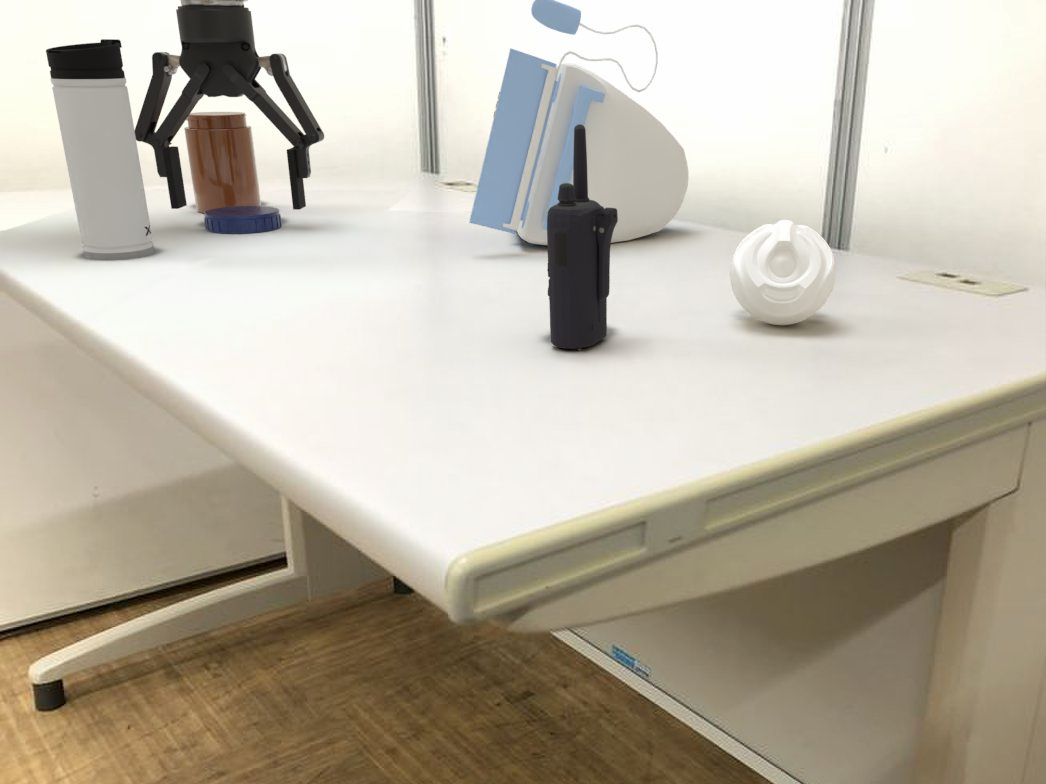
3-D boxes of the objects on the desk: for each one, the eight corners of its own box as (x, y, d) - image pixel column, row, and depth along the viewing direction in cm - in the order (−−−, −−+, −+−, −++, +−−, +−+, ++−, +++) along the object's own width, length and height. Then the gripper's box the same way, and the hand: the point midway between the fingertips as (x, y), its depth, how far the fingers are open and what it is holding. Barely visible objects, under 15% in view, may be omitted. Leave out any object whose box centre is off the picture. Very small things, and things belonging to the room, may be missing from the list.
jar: (187, 214, 131) (172, 115, 126) (208, 205, 138) (195, 111, 134) (251, 214, 131) (238, 115, 127) (269, 205, 138) (257, 111, 134)
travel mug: (172, 257, 105) (137, 39, 98) (112, 268, 100) (70, 39, 92) (132, 250, 108) (95, 39, 101) (71, 261, 103) (28, 38, 95)
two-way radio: (574, 331, 80) (571, 121, 74) (629, 338, 78) (630, 124, 72) (541, 350, 75) (535, 127, 69) (599, 357, 73) (598, 129, 68)
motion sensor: (725, 333, 80) (729, 228, 77) (731, 309, 86) (735, 213, 84) (833, 337, 79) (841, 232, 76) (830, 313, 86) (837, 216, 83)
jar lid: (289, 222, 126) (287, 205, 125) (269, 233, 118) (267, 216, 118) (220, 222, 126) (217, 205, 125) (195, 233, 118) (193, 216, 117)
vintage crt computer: (526, -17, 99) (481, -12, 113) (468, 229, 105) (432, 205, 119) (753, 67, 110) (686, 62, 124) (688, 284, 116) (631, 256, 131)
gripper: (338, 7, 117) (356, 203, 125) (109, 3, 116) (141, 202, 124) (322, 4, 110) (342, 213, 118) (78, 1, 109) (114, 211, 117)
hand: (239, 207), depth 121 cm, fingers open, 13 cm apart
